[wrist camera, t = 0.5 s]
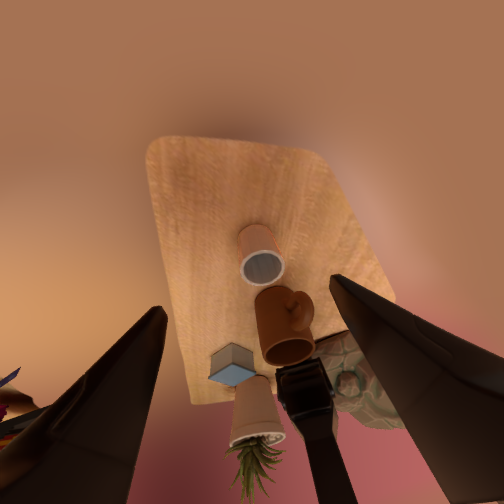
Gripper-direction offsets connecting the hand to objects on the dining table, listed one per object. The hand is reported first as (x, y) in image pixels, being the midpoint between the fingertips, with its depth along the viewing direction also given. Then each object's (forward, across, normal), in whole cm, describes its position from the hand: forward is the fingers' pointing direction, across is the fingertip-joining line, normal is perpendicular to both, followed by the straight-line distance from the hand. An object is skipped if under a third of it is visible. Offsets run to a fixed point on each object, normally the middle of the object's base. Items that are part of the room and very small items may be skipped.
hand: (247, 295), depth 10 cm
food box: (+15, +7, +34) cm, 38 cm away
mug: (+15, -4, +16) cm, 23 cm away
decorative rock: (+16, -18, +44) cm, 50 cm away
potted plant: (+16, +6, +50) cm, 52 cm away
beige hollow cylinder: (+15, -2, +5) cm, 16 cm away
